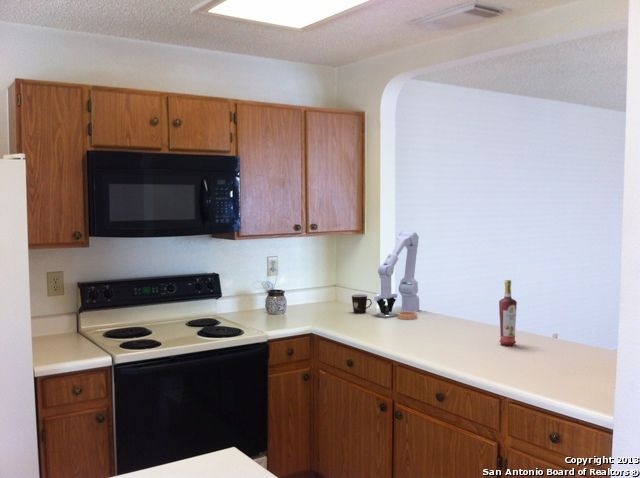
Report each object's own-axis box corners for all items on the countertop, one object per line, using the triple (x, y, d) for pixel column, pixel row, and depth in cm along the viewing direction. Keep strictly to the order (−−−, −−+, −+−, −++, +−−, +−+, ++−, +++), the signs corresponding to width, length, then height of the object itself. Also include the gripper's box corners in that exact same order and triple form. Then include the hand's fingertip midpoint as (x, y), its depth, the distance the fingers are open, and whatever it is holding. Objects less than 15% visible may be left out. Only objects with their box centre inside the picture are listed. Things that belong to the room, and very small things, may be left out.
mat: (387, 313, 343) (387, 312, 343) (402, 316, 334) (402, 315, 334) (370, 316, 337) (370, 315, 336) (385, 319, 327) (385, 318, 327)
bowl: (407, 316, 335) (407, 310, 334) (420, 319, 326) (420, 313, 326) (393, 318, 329) (393, 313, 329) (406, 321, 321) (406, 316, 320)
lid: (387, 312, 342) (386, 303, 341) (399, 315, 334) (398, 305, 333) (373, 315, 336) (373, 305, 336) (385, 318, 328) (385, 308, 328)
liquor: (504, 347, 266) (505, 282, 264) (495, 343, 273) (495, 279, 271) (519, 346, 268) (520, 281, 266) (510, 342, 275) (510, 278, 273)
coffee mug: (349, 313, 346) (348, 295, 346) (362, 311, 350) (362, 293, 349) (359, 316, 336) (358, 298, 335) (373, 315, 340) (372, 296, 339)
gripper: (391, 285, 341) (391, 309, 342) (370, 287, 333) (370, 313, 334) (399, 286, 335) (400, 311, 337) (379, 289, 327) (379, 315, 328)
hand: (386, 312), depth 335 cm, fingers open, 5 cm apart
